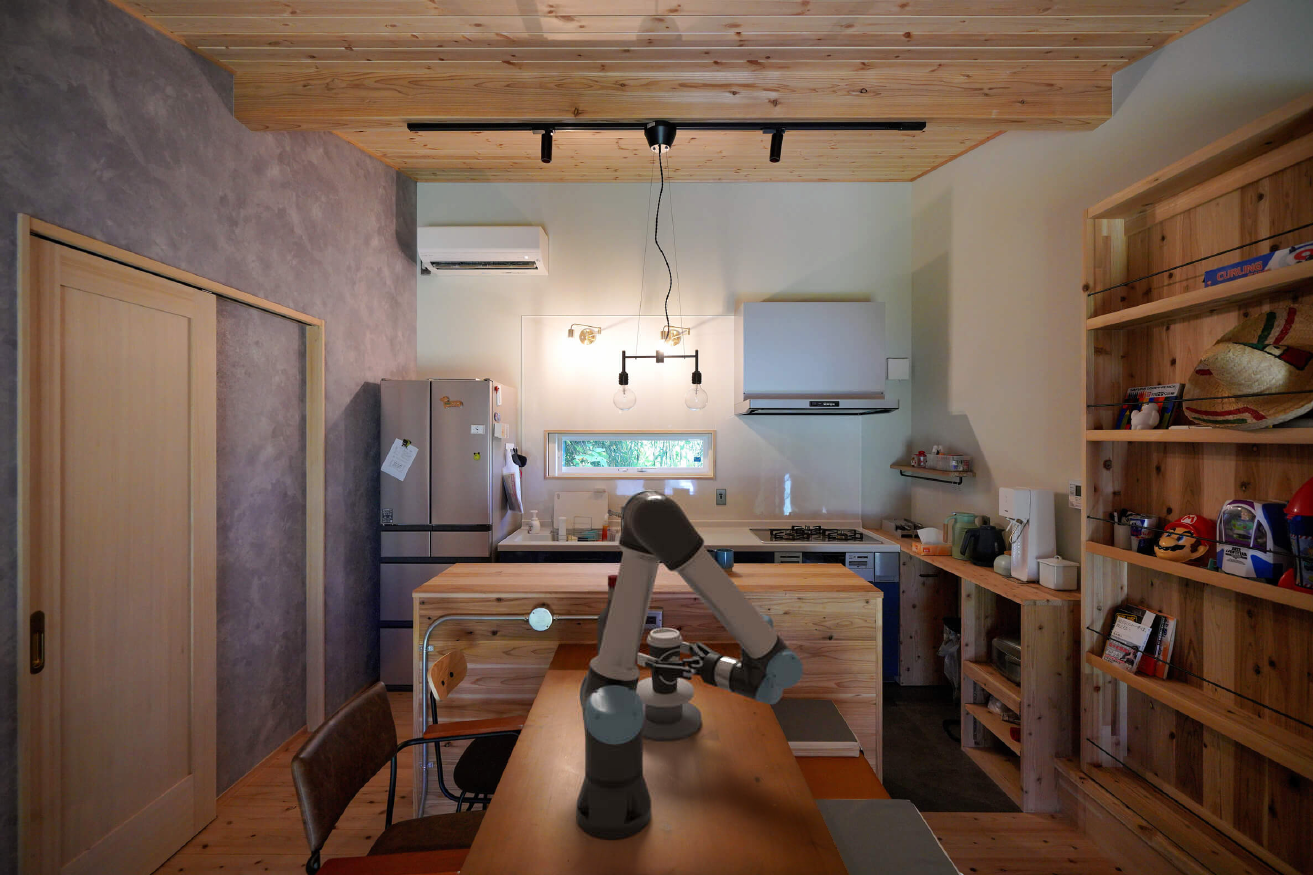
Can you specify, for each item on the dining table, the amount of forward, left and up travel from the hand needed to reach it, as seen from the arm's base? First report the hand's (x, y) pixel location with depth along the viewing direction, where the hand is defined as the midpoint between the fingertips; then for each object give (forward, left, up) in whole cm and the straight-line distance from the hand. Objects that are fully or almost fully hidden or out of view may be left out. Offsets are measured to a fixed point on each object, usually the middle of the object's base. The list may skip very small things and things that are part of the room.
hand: (654, 650), depth 153 cm
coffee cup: (-2, -3, -10) cm, 10 cm away
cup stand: (-2, -3, -18) cm, 18 cm away
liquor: (+29, +18, -18) cm, 39 cm away
